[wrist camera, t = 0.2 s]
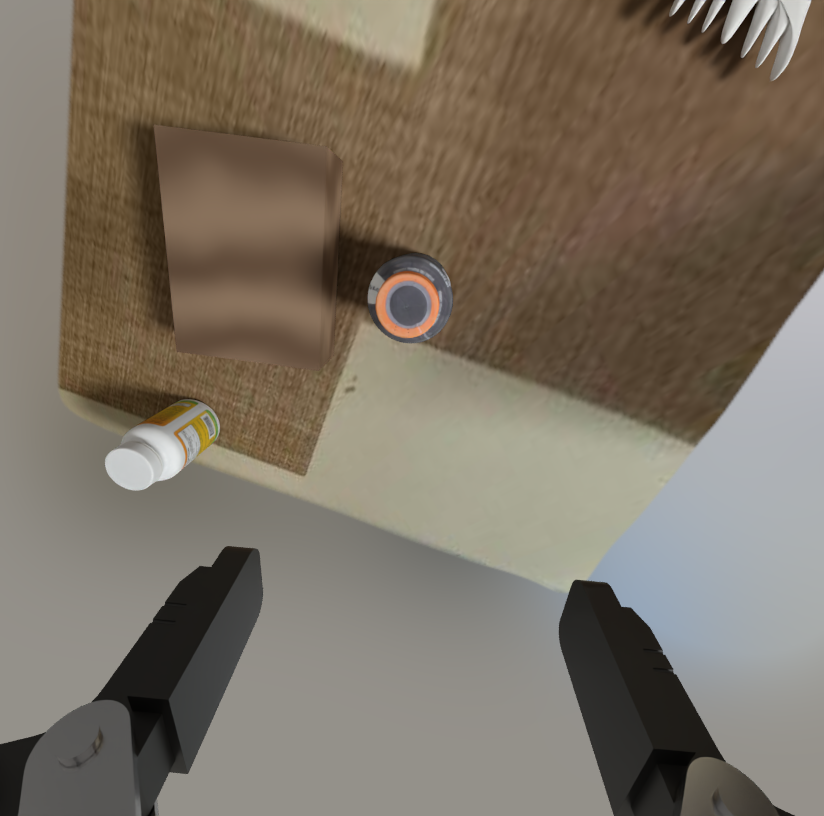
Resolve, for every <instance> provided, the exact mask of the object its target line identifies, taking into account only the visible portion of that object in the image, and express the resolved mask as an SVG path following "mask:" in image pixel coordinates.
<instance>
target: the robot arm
mask: <svg viewBox="0 0 824 816" xmlns="http://www.w3.org/2000/svg"><path fill="white" fill-rule="evenodd" d="M262 597H263V587H262V576H261V566H260V555H259V551H258V549H254V548H243V547H232V546H227V547H225V548H224V549H223V550H222V552H221V553H220V554H219V556H218V558H217V559H216V561H215V562H214V564H213V565H212V567H204V566H199V567H198V568H197V569H196V570H194V571H193V572H192V573H191V574H189V575H188V576H187V577H185V578H184V579H183V580H182V581H180V582H179V584H178V585H177V586H176V588H175V589H174V591H173V592H172V593H171V595H170V596H169V597H168V599H167V600H166V602H165V605H164V606H162V607H161V609H160V610H159V612H158V613H157V614H156V616H155V617H154V618H153V622H152V623H150V624H149V625H148V627H147V628H146V630H145V631H144V632H143V634H142V635H141V637H140V638H139V639H138V641H137V642H136V643H135V645H134V646H133V648H132V649H131V650H130V652H129V653H128V655H127V656H126V657H125V659H124V660H123V662H122V663H121V665H120V666H119V667H118V669H117V670H116V671H115V673H114V674H113V676H112V677H111V678H110V680H109V681H108V683H107V684H106V685H105V687H104V688H103V689H102V691H101V692H100V693H99V695H98V696H97V697H96V698H95V699H94V700H93V701H92V702H91V703H88V704H86V705H83V706H81V707H79V708H77V709H75V710H73V711H72V712H70V713H68V714H67V715H65V716H64V717H63V718H61V719H60V720H59V721H57V722H56V723H55V724H54V725H53V726H52V727H51V728H50V729H48V730H47V732H45V733H42V734H39V735H36V736H33V737H29V738H24V739H20V740H16V741H12V742H8V743H4V744H0V816H159V813H158V803H157V797H158V795H159V793H160V791H161V788H162V786H163V784H164V782H165V780H166V778H167V776H168V773H169V772H173V773H183V774H188V773H189V770H190V768H191V766H192V764H193V762H194V759H195V757H196V755H197V753H198V750H199V748H200V746H201V744H202V741H203V739H204V737H205V735H206V732H207V730H208V728H209V726H210V723H211V721H212V719H213V717H214V715H215V712H216V710H217V708H218V706H219V703H220V701H221V699H222V697H223V694H224V692H225V690H226V687H227V686H228V683H229V681H230V679H231V677H232V674H233V672H234V670H235V668H236V665H237V663H238V661H239V659H240V656H241V654H242V652H243V649H244V647H245V645H246V643H247V641H248V639H249V636H250V634H251V632H252V629H253V627H254V625H255V623H256V621H257V618H258V616H259V613H260V609H261V605H262V599H263V598H262ZM559 640H560V646H561V650H562V653H563V656H564V659H565V662H566V665H567V669H568V672H569V675H570V678H571V681H572V684H573V688H574V691H575V694H576V697H577V700H578V703H579V707H580V710H581V713H582V716H583V719H584V722H585V725H586V729H587V732H588V735H589V738H590V741H591V745H592V748H593V751H594V754H595V757H596V760H597V763H598V767H599V770H600V773H601V776H602V779H603V782H604V785H605V789H606V792H607V795H608V798H609V801H610V805H611V808H612V811H613V814H614V816H794V815H792V814H790V813H788V812H785V811H783V810H781V809H779V808H777V807H775V806H774V805H773V804H772V803H771V801H770V800H769V799H768V797H767V796H766V795H765V794H764V793H763V791H762V790H761V789H760V788H759V787H758V786H757V785H756V784H755V783H754V782H753V781H752V780H751V779H750V778H748V777H747V776H746V775H745V774H743V773H742V772H741V771H740V770H738V769H737V768H735V767H733V766H732V765H730V764H728V763H726V761H725V760H724V758H723V757H722V755H721V754H720V752H719V750H718V749H717V747H716V745H715V743H714V741H713V740H712V738H711V736H710V734H709V732H708V731H707V729H706V727H705V725H704V724H703V722H702V720H701V718H700V716H699V715H698V713H697V711H696V709H695V707H694V706H693V704H692V702H691V700H690V699H689V697H688V695H687V693H686V691H685V689H684V688H683V686H682V684H681V682H680V681H679V679H678V677H677V675H676V674H674V673H673V668H672V666H671V665H670V663H669V661H668V659H667V658H666V656H665V655H663V652H662V651H663V650H662V648H661V647H660V645H659V643H658V641H657V639H656V638H655V636H654V634H653V633H652V630H651V629H650V627H649V626H648V625H647V624H646V623H645V622H644V621H643V620H642V619H641V618H640V617H639V616H638V615H637V614H636V613H635V612H634V611H633V609H632V608H628V607H621V605H620V603H619V601H618V599H617V598H616V596H615V594H614V592H613V590H612V588H611V586H610V585H609V584H608V583H605V582H594V581H584V580H575V581H574V582H573V583H572V585H571V588H570V592H569V595H568V598H567V601H566V604H565V607H564V610H563V613H562V616H561V619H560V623H559Z"/></svg>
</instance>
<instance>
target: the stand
mask: <svg viewBox="0 0 824 816" xmlns="http://www.w3.org/2000/svg"><path fill="white" fill-rule="evenodd" d="M154 133H155V143H156V153H157V163H158V172H159V182H160V192H161V202H162V212H163V222H164V231H165V241H166V251H167V261H168V271H169V281H170V290H171V300H172V310H173V320H174V330H175V339H176V349H177V352H183V353H190V354H198V355H205V356H212V357H220V358H227V359H235V360H242V361H250V362H257V363H264V364H272V365H279V366H287V367H294V368H302V369H309V370H316V371H319V370H320V369H321V368H322V367H323V366H324V365H325V364H326V363H327V362H328V361H329V360H330V359H331V358H332V357H333V356H334V337H335V317H336V296H337V275H338V254H339V234H340V213H341V192H342V171H343V161H342V160H341V159H340V158H339V157H338V156H337V155H335V154H334V153H333V152H332V151H331V150H330V149H329V148H328V147H327V146H319V145H311V144H303V143H295V142H287V141H279V140H271V139H264V138H256V137H248V136H240V135H232V134H224V133H216V132H208V131H200V130H192V129H185V128H177V127H169V126H161V125H154Z"/></svg>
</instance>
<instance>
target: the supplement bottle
mask: <svg viewBox="0 0 824 816" xmlns="http://www.w3.org/2000/svg"><path fill="white" fill-rule="evenodd" d="M219 431H220V425H219V420H218V418H217V416H216V414H215V413H214V411H213V410H212V409H211V408H210V407H209V406H207V405H206V404H204V403H202V402H200V401H197V400H193V399H184V400H180V401H178V402H176V403H174V404H172V405H171V406H169V407H167V408H166V409H164V410H162V411H160V412H159V413H157V414H155V415H154V416H152V417H150V418H148V419H147V420H145V421H143V422H142V423H140V424H138V425H136V426H135V427H133V428H132V429H130V430H129V431H128V432H127V433H126V434H125V435H124V437H123V439H122V441H121V445H119V446H118V447H116V448H115V449H114V450H112V451H111V452H110V453H109V454H108V455H107V457H106V459H105V466H106V470H107V473H108V474H109V476H110V477H111V478H112V479H113V480H114V482H116V483H117V484H118V485H120V486H122V487H124V488H126V489H129V490H143V489H145V488H147V487H149V486H150V485H151V484H153V483H154V482H155V481H162V480H167V479H169V478H171V477H173V476H175V475H176V474H177V473H178V472H180V471H181V470H182V469H183V468H184V467H185V466H186V465H187V464H189V463H190V462H191V461H192V460H193V459H195V458H196V457H197V456H198V455H199V454H200V453H202V452H203V451H204V450H205V449H206V448H207V447H209V446H210V445H211V444H212V443H213V442H214V441H215V440H216V439H217V437H218V435H219Z"/></svg>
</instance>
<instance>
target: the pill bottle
mask: <svg viewBox="0 0 824 816" xmlns="http://www.w3.org/2000/svg"><path fill="white" fill-rule="evenodd" d="M452 306H453V293H452V289H451V284H450V280H449V278H448V276H447V273H446V271H445V270H444V268H443V267H442V265H441V264H440V263H439V262H438V261H437V260H435V259H434V258H432V257H430V256H428V255H425V254H422V253H410V254H405V255H402V256H399V257H396V258H393V259H391V260H389V261H388V262H386V263H385V264H383V265H382V266H381V267H380V268H379V270H378V271H377V272H376V273H375V275H374V277H373V279H372V281H371V283H370V286H369V291H368V308H369V312H370V315H371V317H372V319H373V321H374V323H375V324H376V326H377V327H378V328H379V329H380V330H381V331H382V332H383V333H384V334H385V335H387V336H388V337H390V338H391V339H393V340H396V341H399V342H403V343H419V342H423V341H426V340H428V339H430V338H432V337H433V336H435V335H436V334H437V333H439V332H440V331H441V330H442V328H443V327H444V326H445V324H446V323H447V321H448V319H449V317H450V314H451V311H452Z"/></svg>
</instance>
